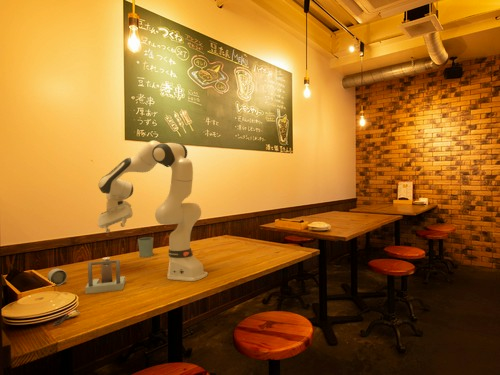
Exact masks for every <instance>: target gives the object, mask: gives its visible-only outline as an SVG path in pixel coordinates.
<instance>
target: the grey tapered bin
mask: <svg viewBox="0 0 500 375" xmlns="http://www.w3.org/2000/svg"><path fill="white" fill-rule="evenodd" d="M137 244H138V245H137V247H138V253H139V257H140V258H142V257H146V258H151V257H153V255H154V252H153V251H154V238H153V237H141V238H138V239H137Z"/></svg>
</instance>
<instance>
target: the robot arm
mask: <svg viewBox="0 0 500 375" xmlns="http://www.w3.org/2000/svg"><path fill="white" fill-rule="evenodd" d="M187 157H188V149H187V147H186V146H185V145H184V144H182V143H178V142H165V143H161V142H159V141H157V140H150V141H148V142H147V143H146V144H145V145H144V146H143V147H142V148H141V149H140V150H139V151H138V152H137V153H136V154H135V155H133V156H131V157H127V158H125V159H123V160H122V161H121V162H120V163H118V165H116V166H115V167H114V168H113V169H111V170H110V171H109V173H107V174H106V175H104V176H102V177H101V179H100V180H99V182H98V189H99V190H100V192H101V193H103V194H106V200H107V201H106V211H104V212H102V213H101V214H99V215H98V219H97V220H98V221H97V226H98V227H99V228H101V229H105V233H106V234H108V233H110V232H111V229H110V228H109V227H110V226H113V225H115V224H118V223H120V227H121V228H122V227H126V223H127V220H128V219H130V218H133V208H132V204H130V203H129V202H128V201H126V200H127V199H128V198H130V197H132V195H133V194H134V185H133V183H132V182H130V181H127V180H124V179H120V178H121V177H122V176H123V175H124V174H126V173H148V172H150V171H151V170H153V168H154V167H155V166H156V165H157V164H160V165H162V166H164V167H166V168H169V167H170V168H171V179H170V188H169V193H168V195H167V197H166V199H165V200H164V201H163V203H162V204H160V205H159V206H158V207H157V208H156V210H155V213H154V217H155V220H156V222H157V223H158V224H160V225H168V226H169V225H177V226H176V228H175V229H174V230H173V231H171V232H170V234H169V237H168V244H169V245H168V246H169V249H168V257H169V260H168V261H169V262H168V269H167V273H166V276H167V280H172V281H173V280H174V281H183V282H185V281H186V282H195V281H199V280H201V279H204V278H206V277H207V276H208V275H209V273H208V272H207V271H204V265H203V263H202V262H201V261H200V260H199V259H198V258H196V257H195V256H194V254H193V253H194V252H195V250H192V248H191V233H192V230H193V227H194V225H195V224H196V222H197V221H199V219H200V218H201V215H202V209H201V207H200V205H199V204H198V203H195V202H184V200H186V198H188V197H190V195H191V194H192V188H193V179H194V170H193V169H194V167H193V162H192V160H190V159H188V158H187ZM154 169H155V168H154Z"/></svg>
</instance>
